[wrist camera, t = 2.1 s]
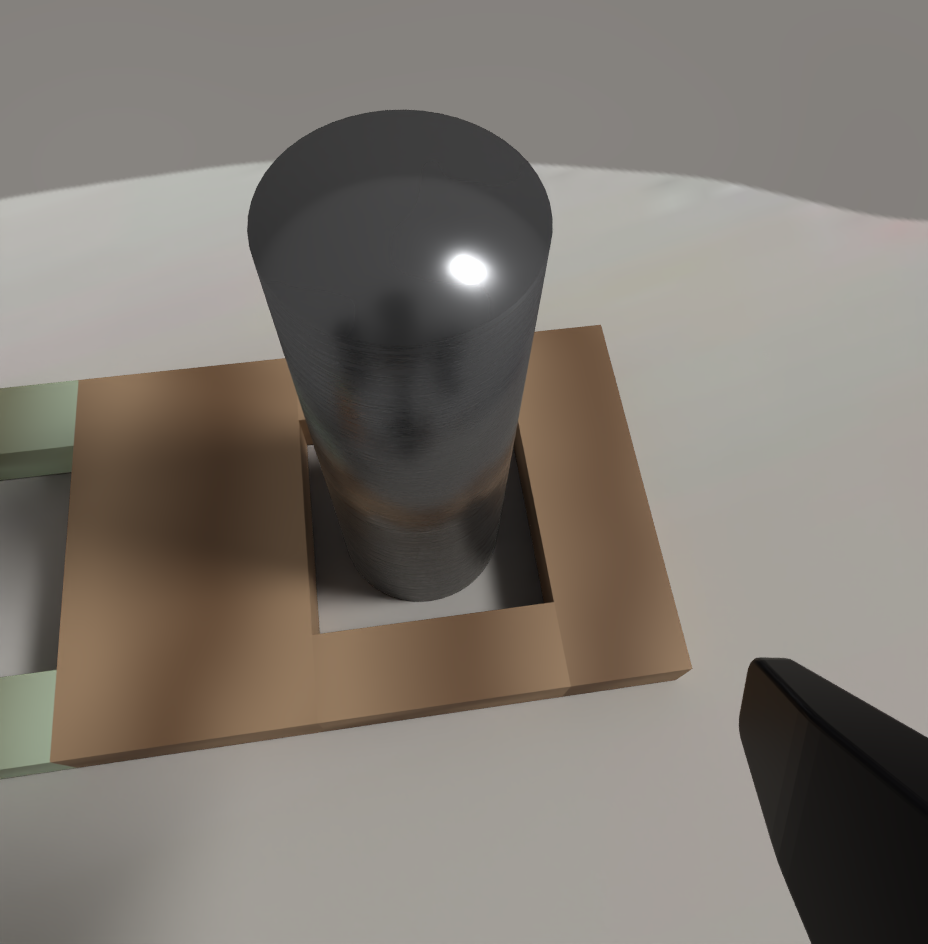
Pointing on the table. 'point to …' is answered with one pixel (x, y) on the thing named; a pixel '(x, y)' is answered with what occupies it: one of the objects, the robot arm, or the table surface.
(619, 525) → the slotted peg board
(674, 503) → the table surface
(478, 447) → the metal peg
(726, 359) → the table surface
